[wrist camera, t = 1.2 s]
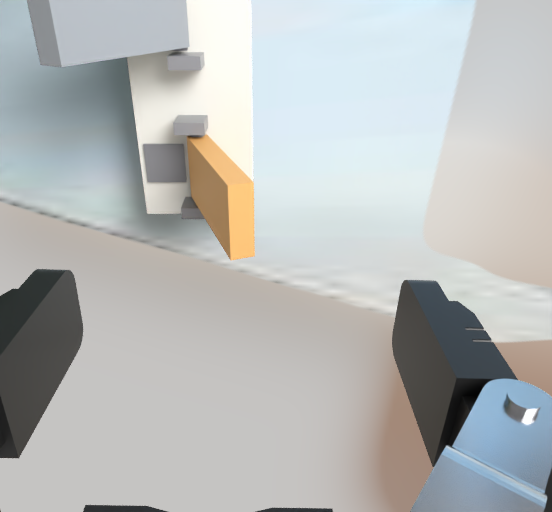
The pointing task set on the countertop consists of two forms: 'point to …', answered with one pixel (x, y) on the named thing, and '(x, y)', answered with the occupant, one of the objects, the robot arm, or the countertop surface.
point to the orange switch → (222, 195)
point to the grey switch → (106, 29)
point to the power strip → (194, 102)
